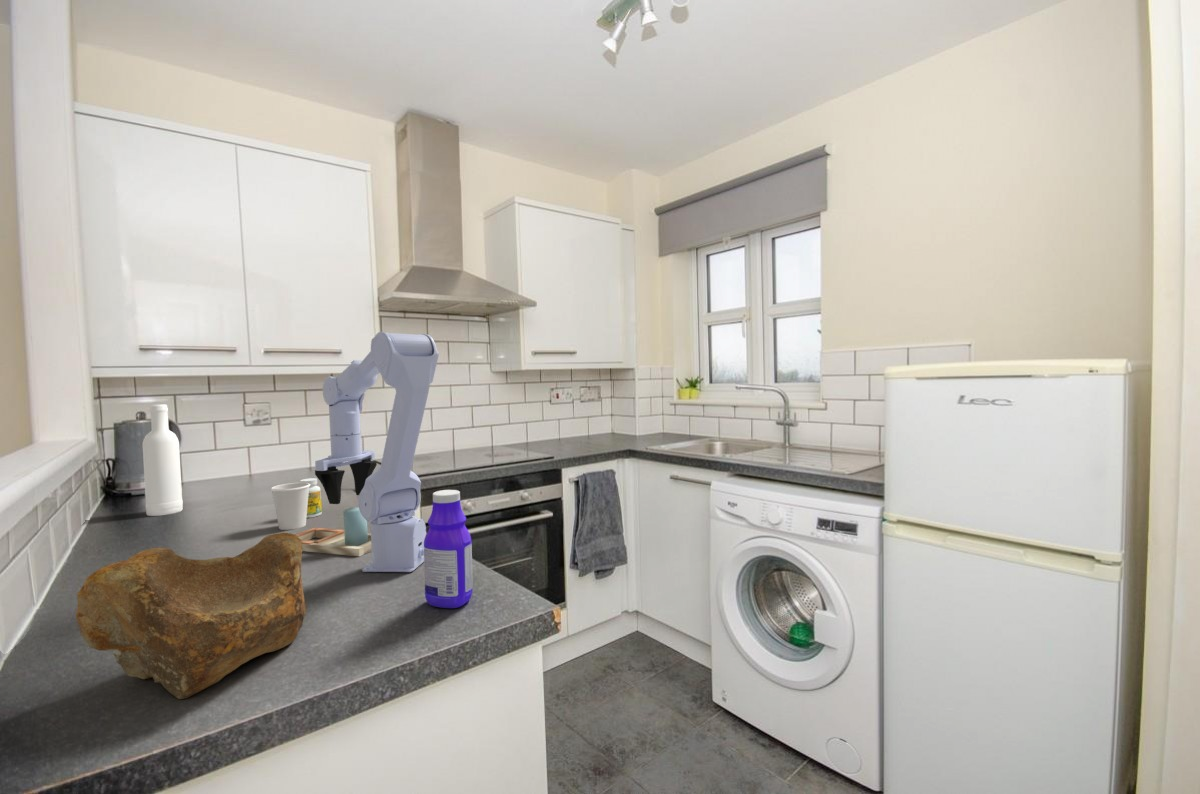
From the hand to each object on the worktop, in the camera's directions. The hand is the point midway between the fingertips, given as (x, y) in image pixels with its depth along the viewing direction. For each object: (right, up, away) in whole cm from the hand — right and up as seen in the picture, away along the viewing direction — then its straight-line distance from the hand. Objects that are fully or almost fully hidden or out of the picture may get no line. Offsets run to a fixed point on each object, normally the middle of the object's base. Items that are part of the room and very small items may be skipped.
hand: (348, 499), depth 110 cm
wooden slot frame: (-4, -10, +3) cm, 11 cm away
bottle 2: (+29, -11, -28) cm, 42 cm away
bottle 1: (-68, -11, +36) cm, 78 cm away
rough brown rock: (+5, -12, -45) cm, 47 cm away
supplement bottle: (-24, -10, +29) cm, 38 cm away
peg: (+1, -10, +1) cm, 10 cm away
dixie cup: (-23, -10, +18) cm, 31 cm away
